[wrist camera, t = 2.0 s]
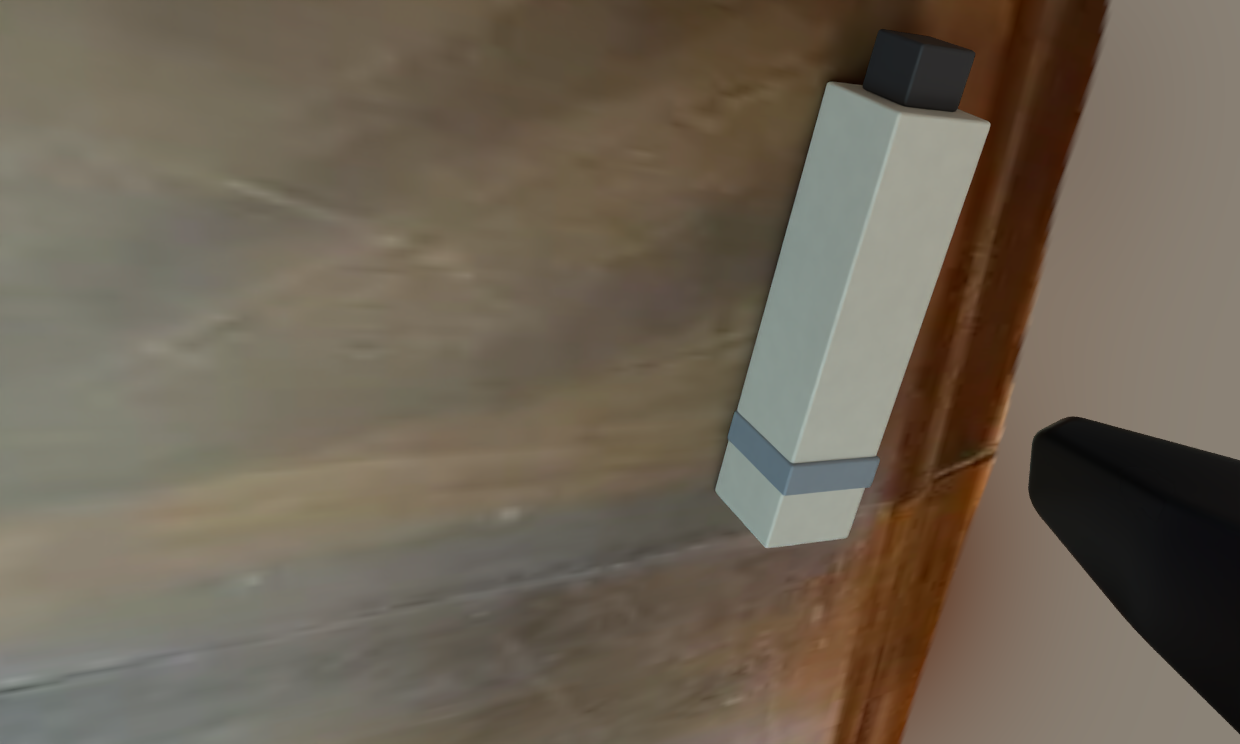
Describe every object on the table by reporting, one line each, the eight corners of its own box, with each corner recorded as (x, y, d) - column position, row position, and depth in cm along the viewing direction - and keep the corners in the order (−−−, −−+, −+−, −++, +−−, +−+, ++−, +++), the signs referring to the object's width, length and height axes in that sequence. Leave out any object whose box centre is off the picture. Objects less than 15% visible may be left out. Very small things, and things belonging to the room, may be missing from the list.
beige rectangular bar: (934, 34, 22) (1020, 62, 20) (794, 484, 27) (853, 541, 25) (840, 19, 21) (921, 47, 19) (711, 491, 26) (765, 552, 24)
